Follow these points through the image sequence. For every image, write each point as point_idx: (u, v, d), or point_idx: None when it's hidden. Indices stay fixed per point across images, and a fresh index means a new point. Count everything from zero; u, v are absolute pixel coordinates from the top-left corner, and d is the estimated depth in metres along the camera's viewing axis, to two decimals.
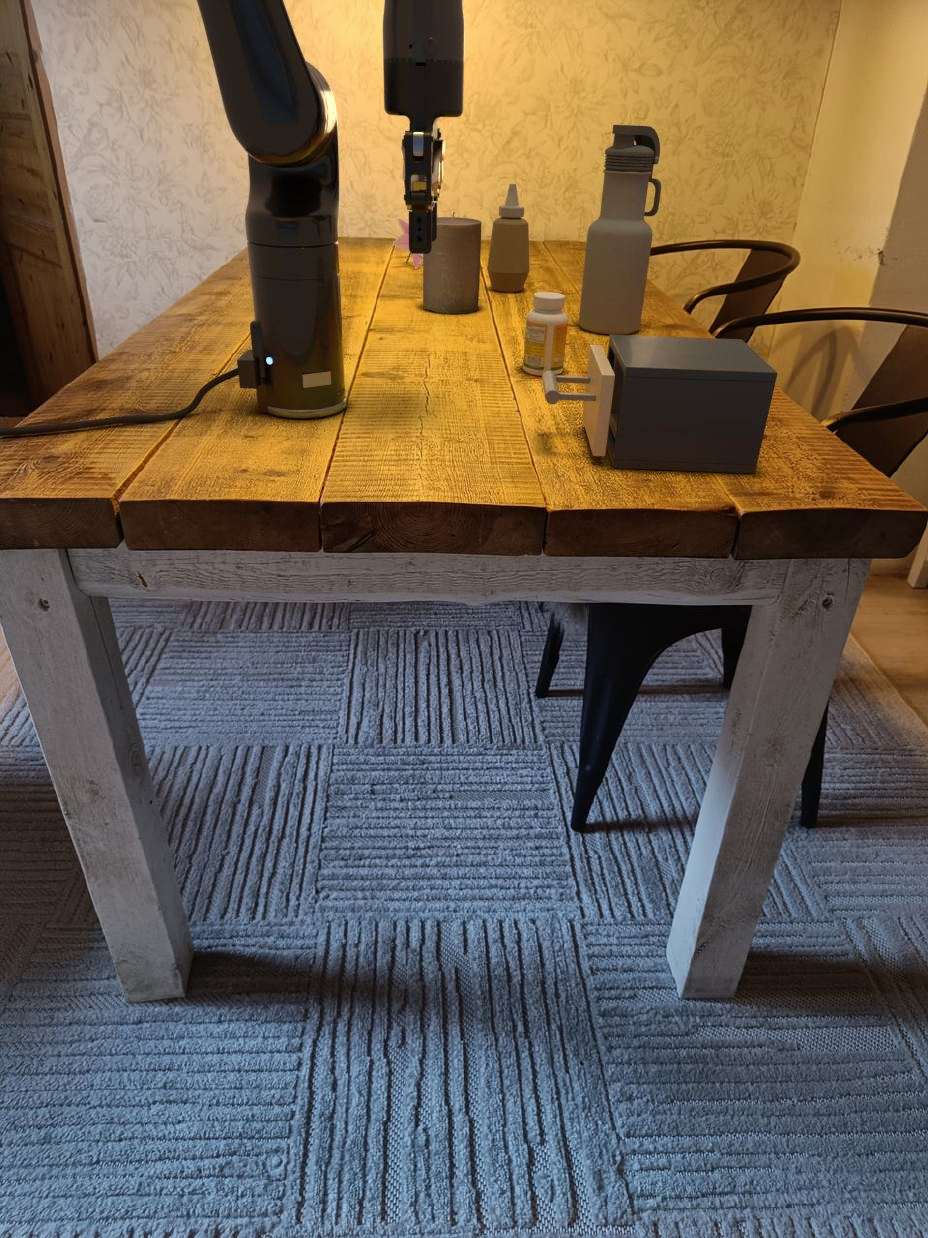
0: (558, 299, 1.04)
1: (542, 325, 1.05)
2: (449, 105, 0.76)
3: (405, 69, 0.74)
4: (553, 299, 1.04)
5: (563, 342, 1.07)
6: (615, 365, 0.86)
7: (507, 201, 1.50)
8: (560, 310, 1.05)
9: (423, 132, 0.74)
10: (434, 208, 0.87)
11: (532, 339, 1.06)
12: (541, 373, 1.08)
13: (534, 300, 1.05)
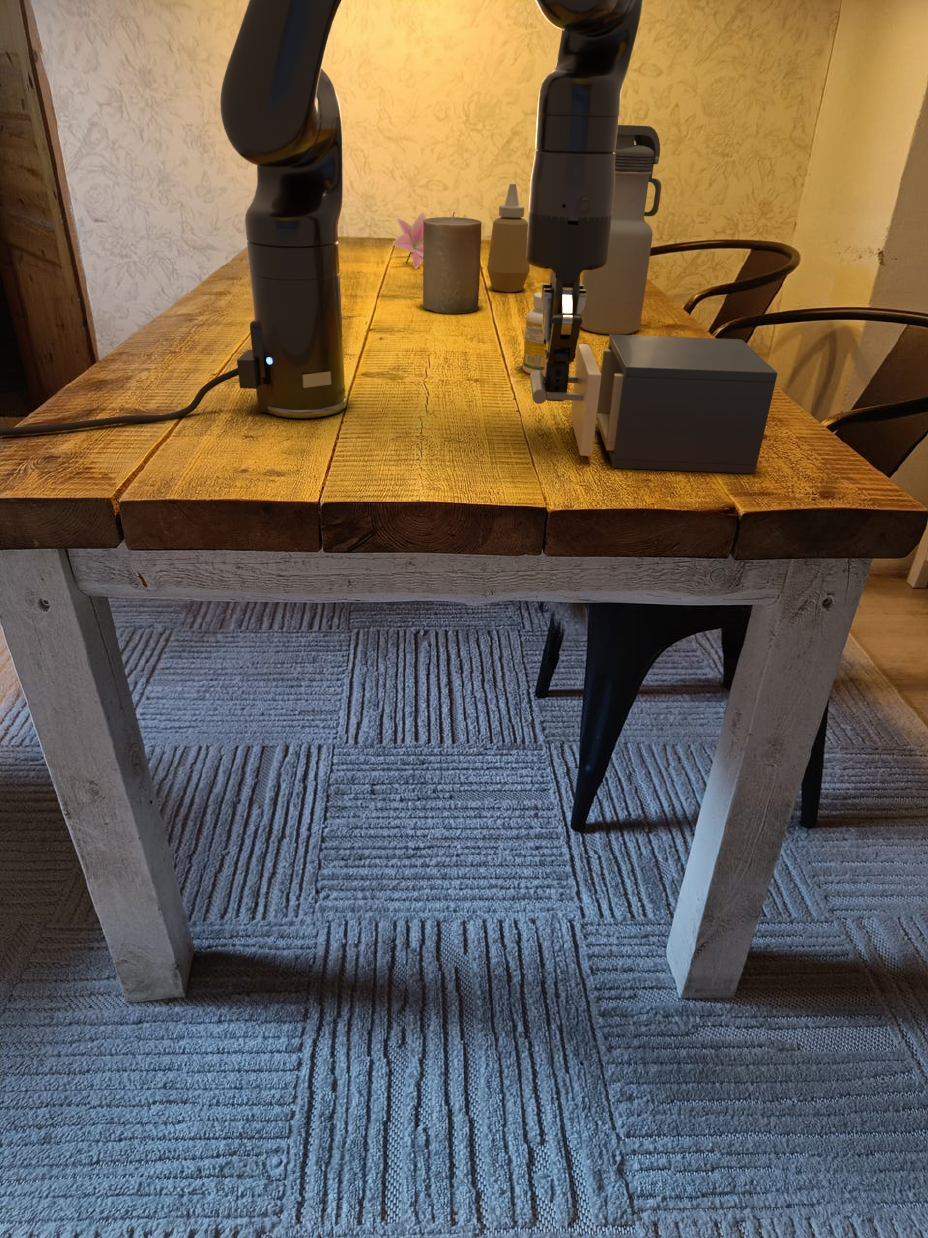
0: None
1: None
2: (597, 259, 0.75)
3: (556, 227, 0.73)
4: None
5: None
6: (603, 365, 0.86)
7: (507, 201, 1.50)
8: None
9: (572, 320, 0.74)
10: None
11: (532, 339, 1.06)
12: None
13: (534, 300, 1.05)
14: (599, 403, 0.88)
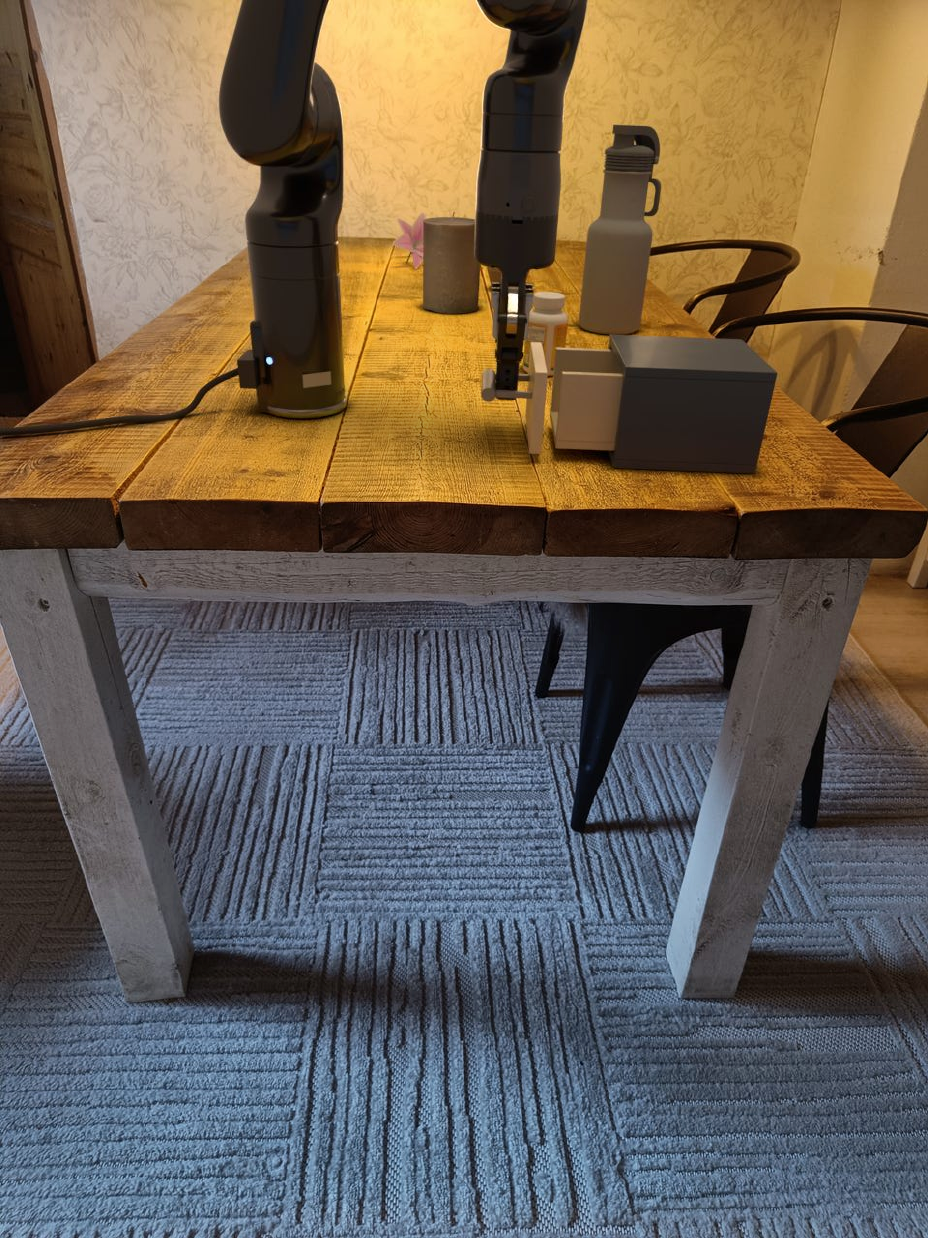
0: (558, 299, 1.04)
1: (542, 325, 1.05)
2: (543, 259, 0.75)
3: (501, 226, 0.73)
4: (553, 299, 1.04)
5: (563, 342, 1.07)
6: (555, 363, 0.86)
7: None
8: (560, 310, 1.05)
9: (517, 319, 0.74)
10: None
11: (533, 339, 1.06)
12: None
13: (534, 300, 1.05)
14: (552, 401, 0.88)
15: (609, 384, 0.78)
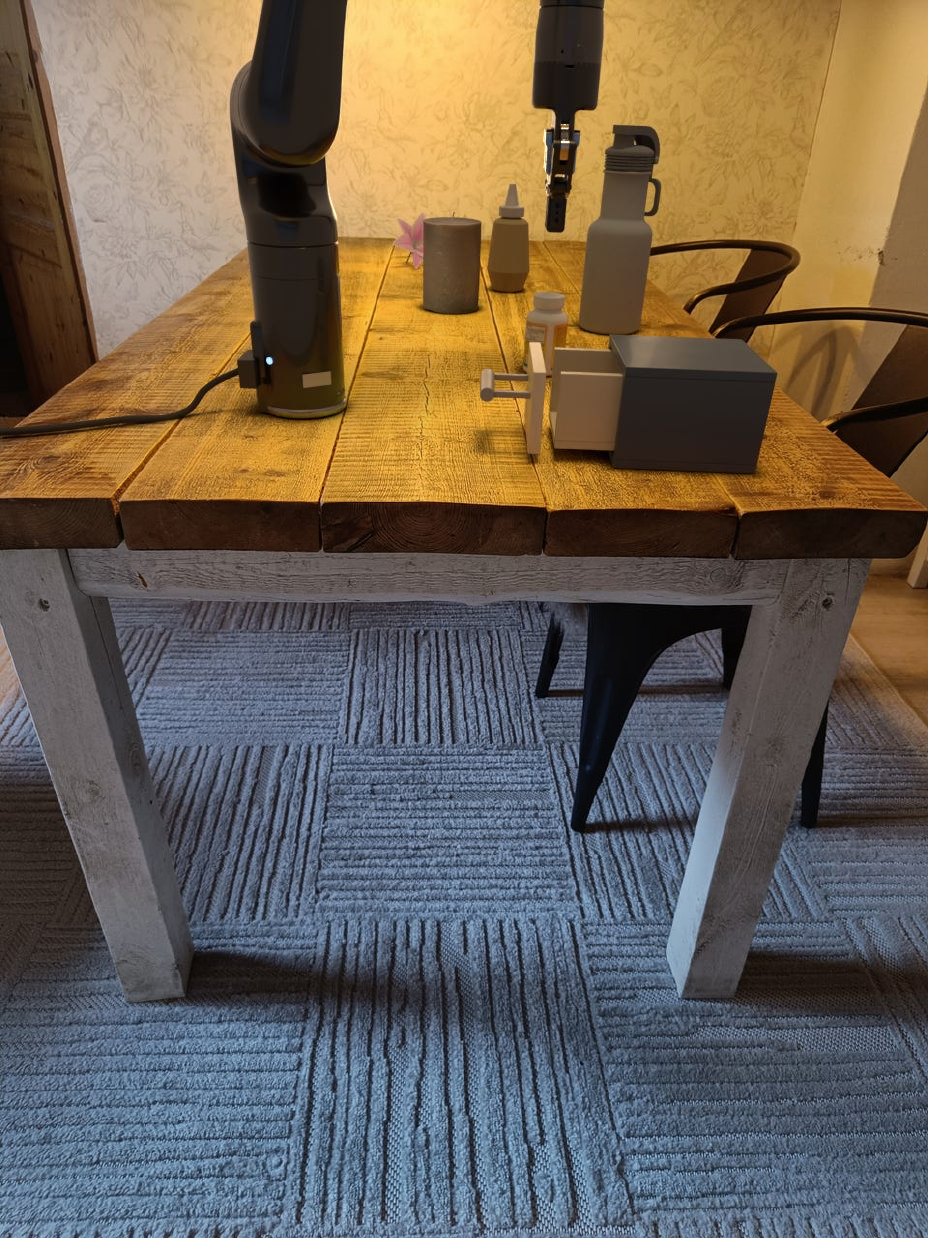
0: (558, 299, 1.04)
1: (542, 325, 1.05)
2: (589, 100, 0.92)
3: (556, 70, 0.90)
4: (553, 299, 1.04)
5: (563, 342, 1.07)
6: (554, 363, 0.86)
7: (507, 201, 1.50)
8: (560, 310, 1.05)
9: (569, 143, 0.91)
10: None
11: (533, 339, 1.06)
12: None
13: (534, 300, 1.05)
14: (551, 401, 0.88)
15: (607, 384, 0.78)
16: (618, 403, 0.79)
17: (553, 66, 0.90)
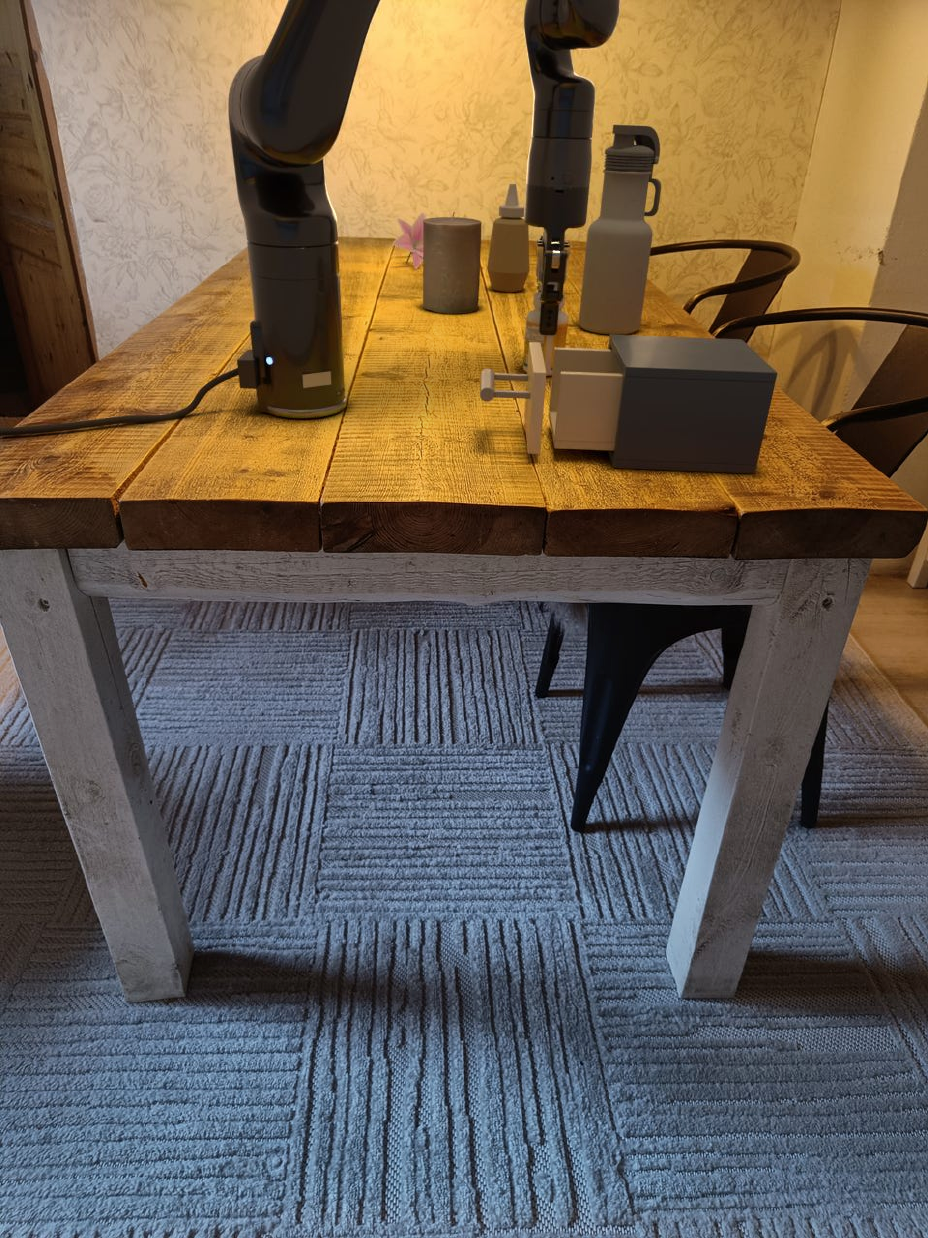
0: None
1: None
2: (578, 220, 0.98)
3: (546, 194, 0.96)
4: None
5: (563, 342, 1.07)
6: (554, 363, 0.86)
7: (507, 201, 1.50)
8: (560, 310, 1.05)
9: (560, 252, 0.96)
10: None
11: (532, 339, 1.06)
12: None
13: (534, 300, 1.05)
14: (551, 401, 0.88)
15: (607, 384, 0.78)
16: (618, 403, 0.79)
17: (544, 190, 0.96)
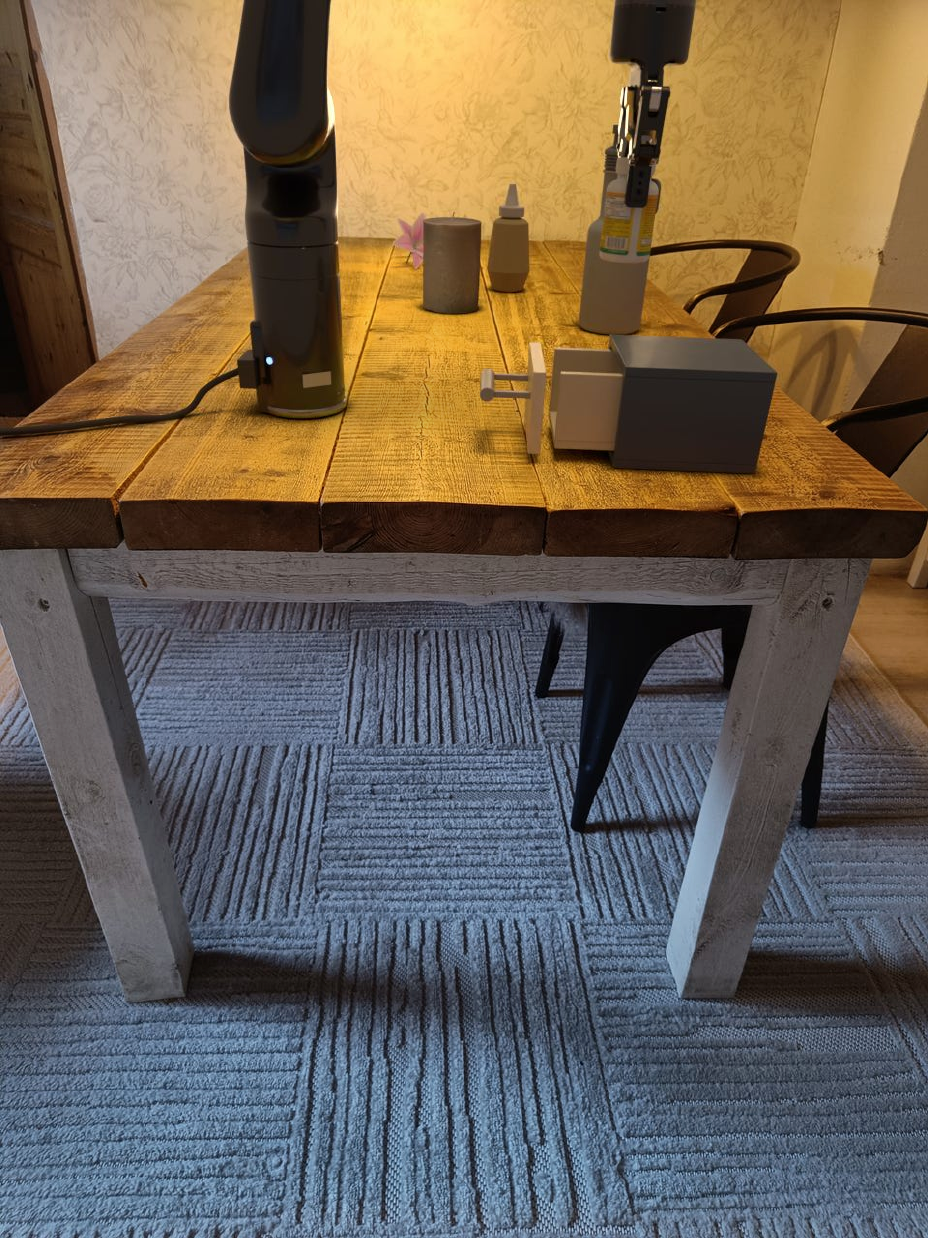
0: None
1: None
2: (681, 51, 0.78)
3: (644, 14, 0.76)
4: None
5: (652, 219, 0.86)
6: (554, 363, 0.86)
7: (507, 201, 1.50)
8: (650, 178, 0.85)
9: (661, 88, 0.76)
10: None
11: (615, 215, 0.86)
12: (624, 259, 0.87)
13: (618, 165, 0.84)
14: (551, 401, 0.88)
15: (607, 384, 0.78)
16: (618, 403, 0.79)
17: (641, 9, 0.75)
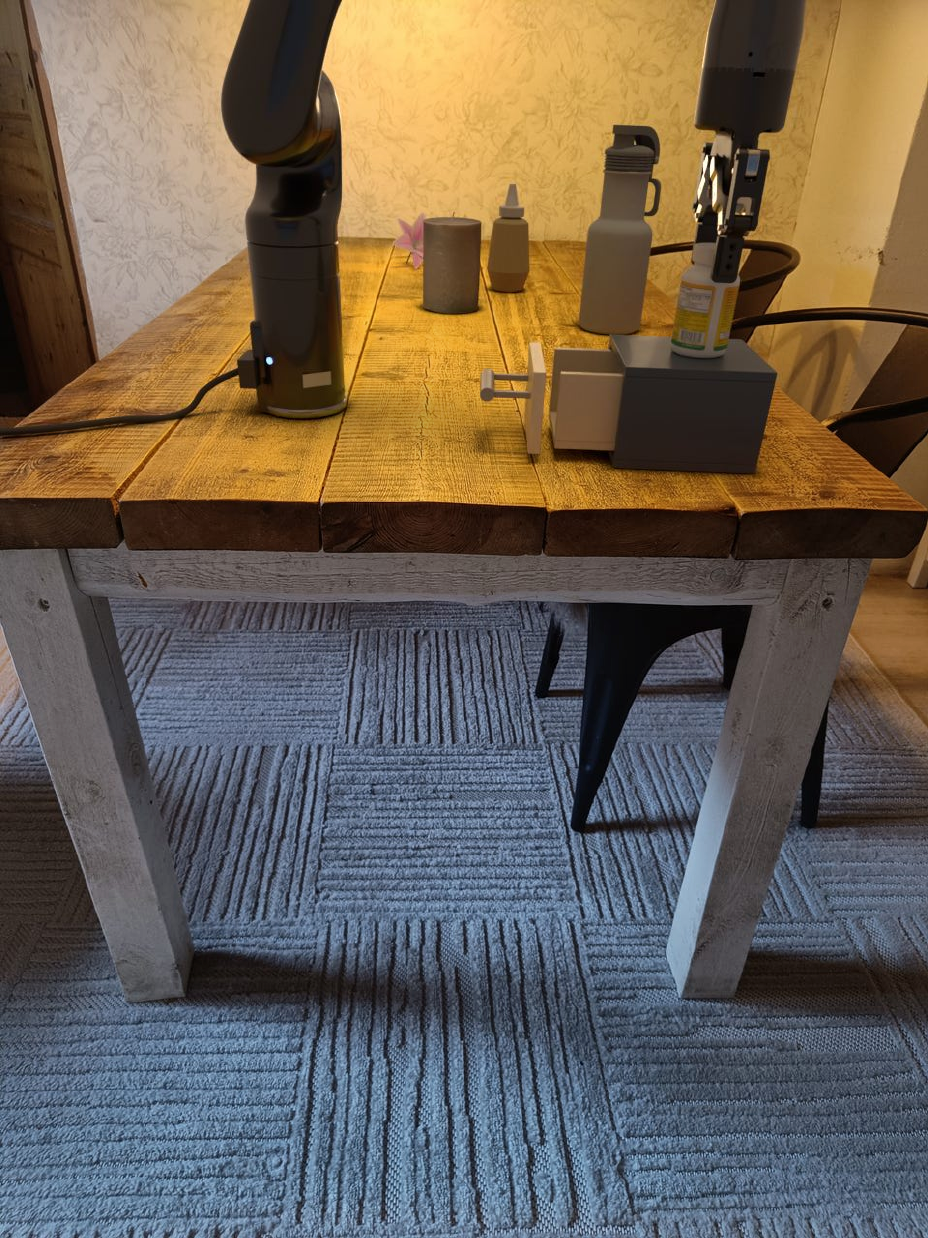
0: None
1: (708, 287, 0.76)
2: (778, 119, 0.69)
3: (739, 80, 0.67)
4: None
5: (732, 312, 0.78)
6: (554, 363, 0.86)
7: (507, 201, 1.50)
8: None
9: (760, 150, 0.66)
10: (718, 231, 0.79)
11: (692, 308, 0.77)
12: (700, 354, 0.79)
13: (696, 253, 0.76)
14: (551, 401, 0.88)
15: (607, 384, 0.78)
16: (618, 403, 0.79)
17: (736, 74, 0.66)
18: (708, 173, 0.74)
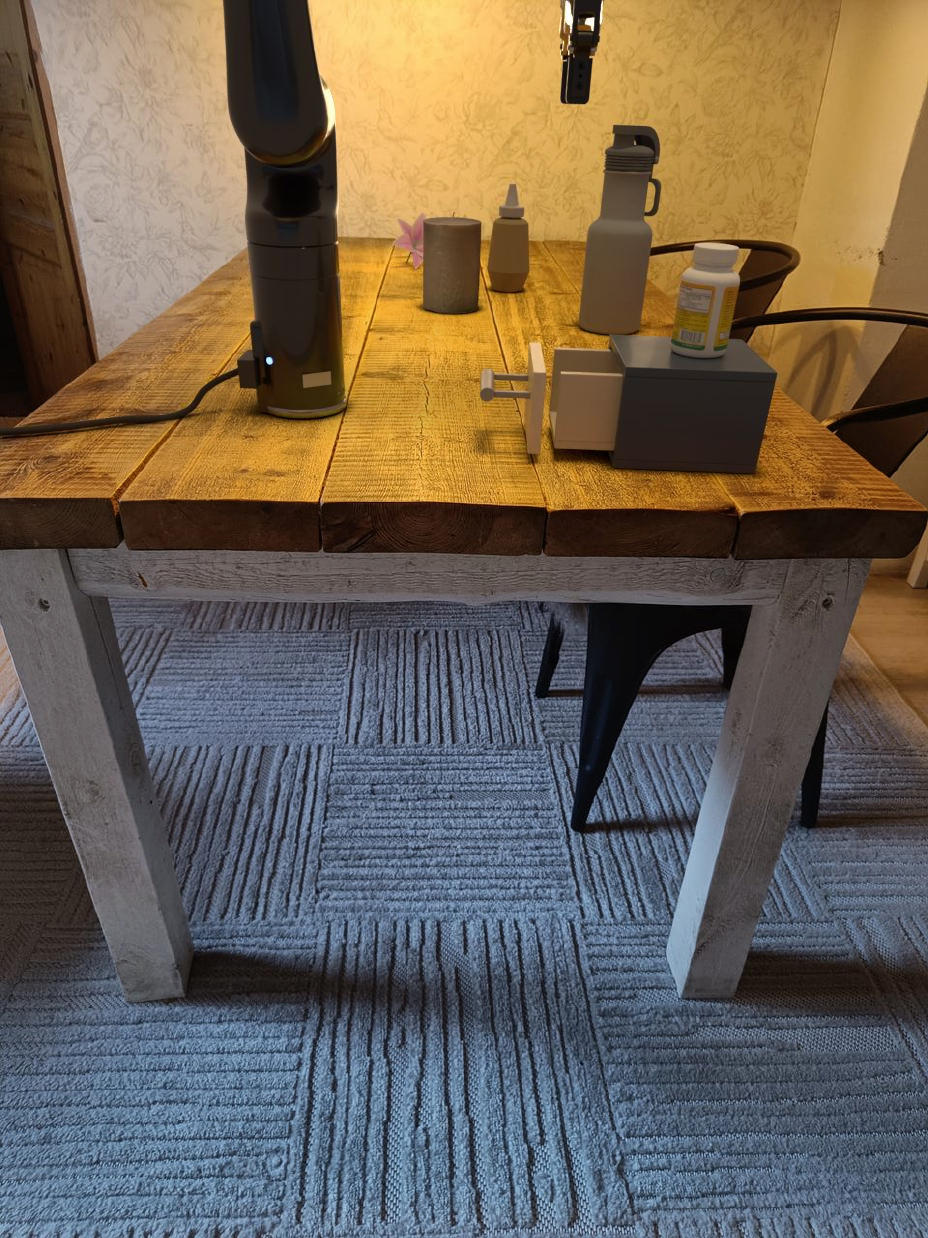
0: (732, 251, 0.75)
1: (708, 287, 0.76)
2: None
3: None
4: (726, 251, 0.75)
5: (732, 312, 0.78)
6: (554, 363, 0.86)
7: (507, 201, 1.50)
8: (731, 267, 0.76)
9: None
10: None
11: (692, 308, 0.77)
12: (700, 354, 0.79)
13: (696, 253, 0.76)
14: (551, 401, 0.88)
15: (607, 384, 0.78)
16: (618, 403, 0.79)
17: None
18: None
